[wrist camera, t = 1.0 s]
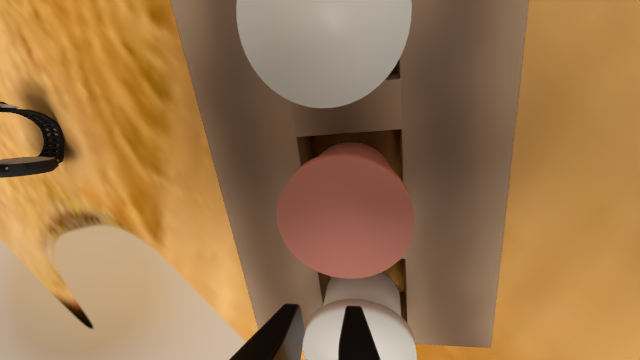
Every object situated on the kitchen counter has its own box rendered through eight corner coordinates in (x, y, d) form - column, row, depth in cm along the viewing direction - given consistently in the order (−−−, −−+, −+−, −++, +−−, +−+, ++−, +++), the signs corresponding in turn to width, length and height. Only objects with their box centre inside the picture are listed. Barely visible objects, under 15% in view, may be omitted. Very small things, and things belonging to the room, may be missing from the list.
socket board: (512, -106, 14) (544, -140, 11) (478, 310, 23) (491, 347, 20) (192, -40, 17) (155, -54, 14) (272, 303, 26) (259, 335, 23)
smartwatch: (31, 152, 24) (-51, 181, 19) (25, 84, 22) (-69, 97, 17) (83, 172, 24) (14, 205, 19) (83, 106, 21) (3, 125, 17)
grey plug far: (409, 258, 18) (416, 314, 14) (411, 332, 20) (417, 397, 17) (311, 257, 19) (294, 309, 16) (322, 328, 21) (310, 387, 18)
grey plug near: (401, -70, 12) (410, -113, 9) (405, 83, 14) (413, 100, 11) (261, -43, 13) (217, -70, 10) (284, 95, 16) (255, 115, 12)
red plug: (406, 125, 15) (413, 154, 12) (408, 228, 17) (415, 279, 14) (291, 134, 16) (265, 163, 13) (306, 230, 19) (288, 277, 15)
